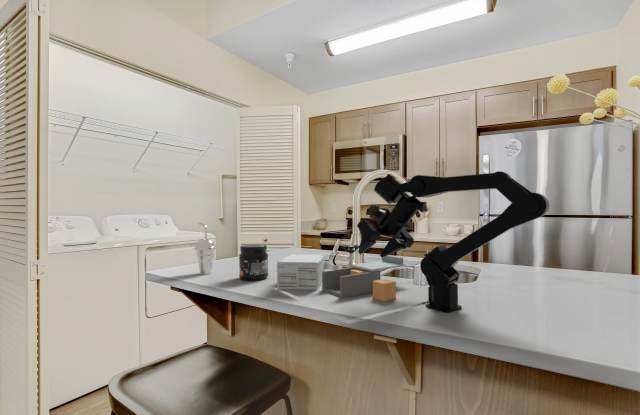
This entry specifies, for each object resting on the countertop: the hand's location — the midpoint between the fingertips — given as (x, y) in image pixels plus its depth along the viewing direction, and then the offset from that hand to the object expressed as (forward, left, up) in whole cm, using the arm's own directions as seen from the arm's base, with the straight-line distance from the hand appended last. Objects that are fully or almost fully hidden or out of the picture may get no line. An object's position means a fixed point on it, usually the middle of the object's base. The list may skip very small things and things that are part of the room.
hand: (370, 255), depth 99 cm
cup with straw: (+62, +32, -12) cm, 70 cm away
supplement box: (+22, +11, -12) cm, 27 cm away
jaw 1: (+5, 0, -11) cm, 12 cm away
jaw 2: (-7, +2, -12) cm, 14 cm away
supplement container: (+42, +20, -12) cm, 48 cm away
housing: (+5, +4, -12) cm, 13 cm away
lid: (+5, -7, -5) cm, 10 cm away
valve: (+20, -8, -12) cm, 25 cm away
